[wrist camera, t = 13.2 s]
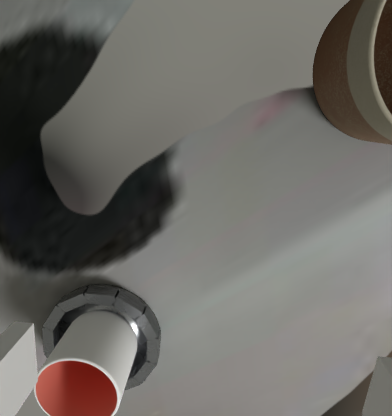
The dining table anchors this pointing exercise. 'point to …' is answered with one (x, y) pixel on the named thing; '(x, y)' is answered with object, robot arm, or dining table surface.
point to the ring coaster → (119, 304)
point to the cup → (88, 367)
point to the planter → (357, 70)
